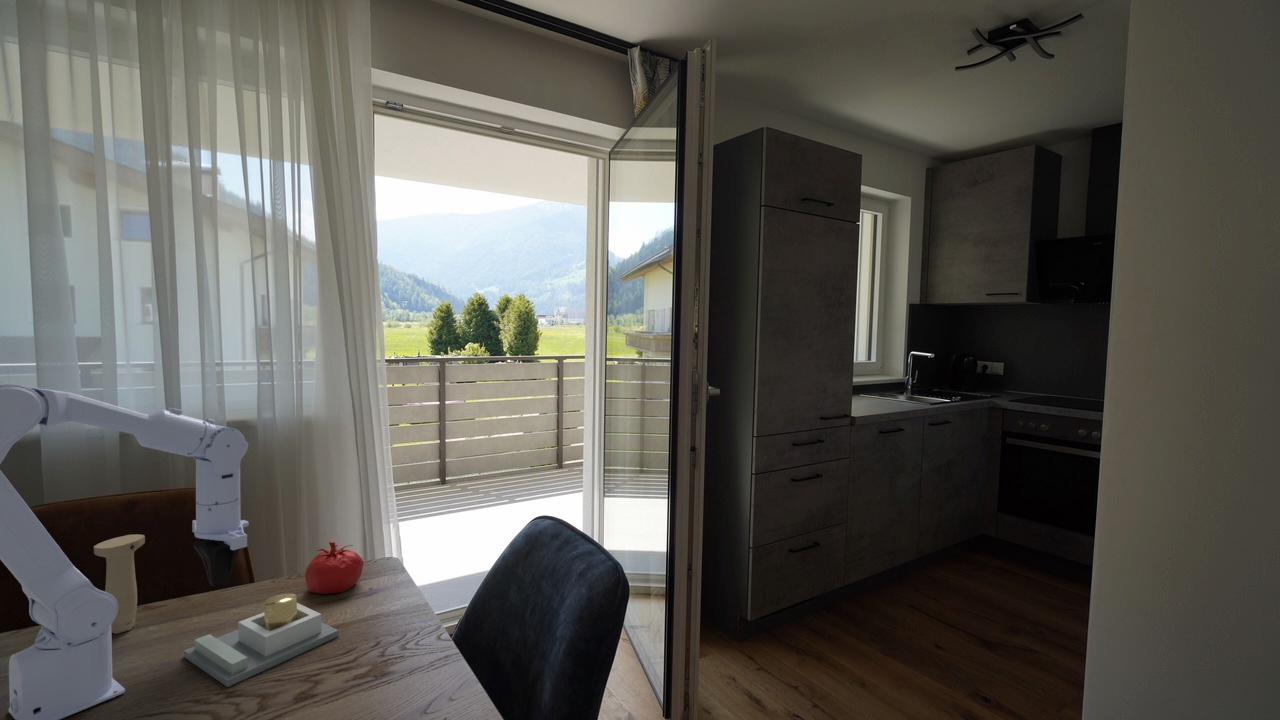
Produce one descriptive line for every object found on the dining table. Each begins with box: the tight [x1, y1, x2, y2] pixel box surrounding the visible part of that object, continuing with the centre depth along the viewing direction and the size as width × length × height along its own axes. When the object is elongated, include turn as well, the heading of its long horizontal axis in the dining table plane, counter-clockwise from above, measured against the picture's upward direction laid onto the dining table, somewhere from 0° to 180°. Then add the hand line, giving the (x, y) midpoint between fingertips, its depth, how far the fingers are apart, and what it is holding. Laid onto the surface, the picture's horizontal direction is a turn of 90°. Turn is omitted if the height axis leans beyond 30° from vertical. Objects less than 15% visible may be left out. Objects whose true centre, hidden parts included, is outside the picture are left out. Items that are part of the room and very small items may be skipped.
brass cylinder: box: [263, 592, 298, 631], centre depth 90 cm, size 4×4×6 cm
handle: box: [93, 533, 146, 635], centre depth 93 cm, size 5×6×15 cm
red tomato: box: [304, 540, 364, 595], centre depth 110 cm, size 10×10×9 cm
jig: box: [183, 602, 339, 688], centre depth 89 cm, size 16×14×4 cm
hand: (219, 583), depth 90 cm, fingers closed
